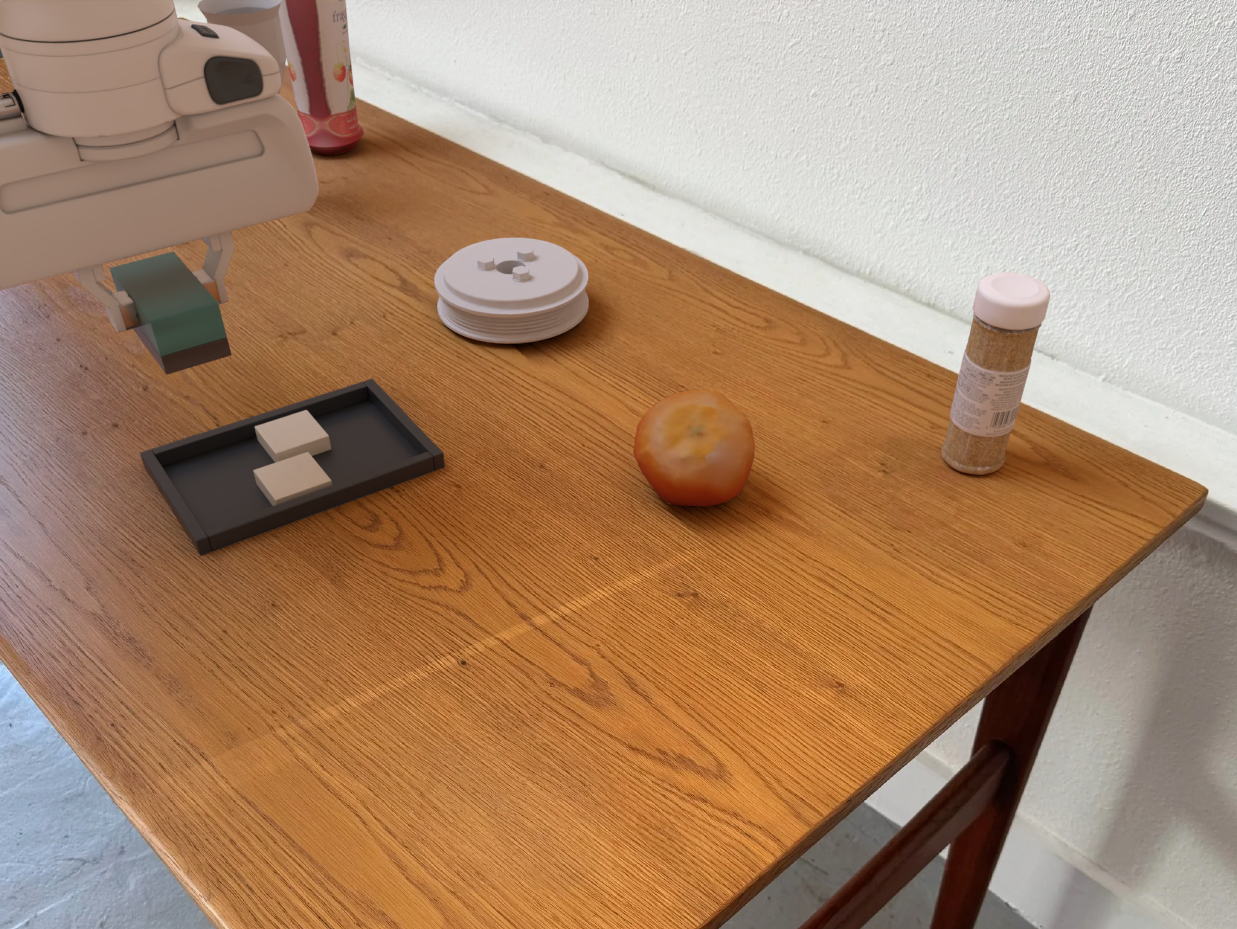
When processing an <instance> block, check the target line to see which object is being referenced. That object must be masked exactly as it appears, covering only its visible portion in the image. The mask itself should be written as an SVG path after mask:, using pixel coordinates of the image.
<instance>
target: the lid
mask: <svg viewBox="0 0 1237 929" xmlns="http://www.w3.org/2000/svg"><path fill="white" fill-rule="evenodd" d="M433 282H434V288H435V291H436V293H437V295H438V296H439V297H438V299H437V303H436V304H437V305H436V309H437V310H436V311H437V314H438V315H437V316H438V317H439V319H440V321H441V322H442V323H443V325H445V326H446V327H447V328H449V330H451V331H453V332H455V333H457V334H459V335H461V336H464V337H466V338H468V339H472V340H476V341H481V342H485V343H492V344H493V343H494V344H525V343H531V342H532V343H533V342H539V341H542V340H546V339H550V338H553V337H556V336H559V335H561V334H563V333H566V332H568V331H569V330H571V329H573V328H575V327H576V326H577V325H578V324H580V323H581V322H582V321H583V320H584V318H585V317H586V315H587V313H588V311H589V307H590V304H589V303H590V300H589V296H588V293H587V292H586V289H587V287H588V284H589V270H588V269H587V266H586V264H585V263H584V261H583V260H581V259H580V258H578V257H577V256H576V255H574V254H573V253H571V252H570V251H569V250H567V249H566V248H564V247H562V246H560V245H559V244H556V243H553V242H550V241H546V240H542V239H537V238H529V237H499V238H494V239H493V238H491V239H485V240H483V241H478V242H475V243H472V244H470V245H467V246H465V247H463V248H460V249H459V250H457V251H455V252H454V253H453V254H452V255H451V256H450V257H449V258H447V259H446V260H445V261H444V262H442V263H441V265H440V266H438V268H437V270H436V272H435V275H434V278H433Z"/></svg>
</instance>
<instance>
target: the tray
mask: <svg viewBox="0 0 1237 929" xmlns="http://www.w3.org/2000/svg"><path fill="white" fill-rule="evenodd" d="M304 410H307V411H308V412H309V413H310V414H311V415H312V417H313V418H314V419H315V420H316V421H317V422H318V424H319V425H320V426H321V427H322V428H323V430H324V431H325V432H326V433H327V434H328V435H329V439H330V444H331V450H328V451H325V452H322V453H319V454H316V455H313V456H312V457H313V458H314V460H315V461H316V462H317V463H318V465H319V466H320V467H321V468H322V470H323V471H324V472H325V473H326V474H327V476H328V477H329V478H330V479H331V481H332V486H329V487H326V488H323V489H320V490H318V491H315V492H312V493H309V494H306V495H303V496H301V497H298V498H295V499H292V500H289V501H287V502H284V503H281V504H278V505H275V506H272V504H271V503H270V502H269V500H268V499H267V498H266V496H265V495H264V493H263V492H262V491H261V489H260V488H259V487H258V485H257V484H256V480H255V476H254V472H253V470H256V469H258V468H261V467H264V466H267V465H270V464H273V463H275V462H274V461H273V459H272V458H271V457H270V455H269V454H268V453H267V452H266V450H265V449H264V448H263V446H262V445H261V444H260V442H259V441H258V439H257V435H256V431H255V426H258V425H261V424H264V423H267V422H270V421H273V420H277V419H280V418H283V417H286V416H289V415H292V414H295V413H298V412H301V411H304ZM139 455H140V458H141V461H142V464H143V467H144V469H145V471H146V472H147V474H148V476H149V477H150V478H151V480H152V482H153V483H154V485H155V486H156V488H157V490H158V491H159V493H160V495H161V496H162V498H163V499H164V501H165V502H166V504H167V505H168V507H169V509H170V510H171V512H172V513H173V515H174V517H175V518H176V520H177V522H178V523H179V524H180V526H181V528H182V529H183V531H184V532H185V534H186V536H187V537H188V539H189V541H190V542H191V543H192V545H193V547H194V548H195V550H196V551H197V553H198V555H199V556H200V557H202V556H205V555H207V554H211V553H214V552H216V551H219V550H222V549H225V548H226V547H230V546H232V545H235V544H239V543H241V542H244V541H247V540H249V539H252V538H254V537H257V536H259V535H263V534H265V533H269V532H271V531H274V530H277V529H280V528H282V527H285V526H288V525H290V524H294V523H295V522H299V521H302V520H305V519H307V518H310V517H313V516H315V515H318V514H321V513H324V512H327V511H329V510H332V509H334V508H337V507H340V506H343V505H345V504H348V503H352V502H353V501H356V500H359V499H363V498H365V497H367V496H370V495H373V494H377V493H378V492H382V491H385V490H387V489H390V488H392V487H395V486H398V485H401V484H403V483H407V482H409V481H412V480H414V479H415V480H416V479H418V478H421V477H423V476H426V475H428V474H431V473H435V472H436V471H439V470H442V469H445V468H446V464H445V456H444V452H443V451H442V450H441V449H440V448H439V447H438V445H437V444H436V443H435V442H434V441H433V440H432V439H431V438H430V437H429V436H428V435H427V434H426V433H425V432H424V431H423V430H422V429H421V428H420V427H419V426H418V424H417V423H416V422H415V421H414V420H413V419H411V417H410V416H409V415H408V414H407V413H406V412H405V411H404V410H403V409H402V407H400V406H399V405H398V404H397V403H396V402H395V401H394V400H393V398H392V397H391V396H390V395H389V394H388V393H386V391H385V390H384V389H383V388H382V386H380V385H379V384H378V383H377V382H376V381H375V380H374V379H373V378H369V379H366V380H363V381H360V382H357V383H354V384H351V385H347V386H344V387H342V388H338V389H335V390H332V391H328V392H325V393H322V394H319V395H316V396H313V397H309V398H307V399H304V400H301V401H298V402H297V401H296V402H294V403H291V404H288V405H285V406H281V407H279V408H276V409H272V410H268V411H266V412H263V413H258V414H256V415H253V416H250V417H246V418H244V419H240V420H237V421H233V422H232V423H228V424H225V425H222V426H218V427H215V428H213V429H209V430H206V431H204V432H200V433H196V434H194V435H190V436H187V437H183V438H181V439H178V440H175V441H172V442H168V443H165V444H162V445H159V446H156V447H153V448H151V449H147V450H143V451H140V453H139Z"/></svg>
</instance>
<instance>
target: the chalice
mask: <svg viewBox="0 0 1237 929" xmlns="http://www.w3.org/2000/svg"><path fill="white" fill-rule="evenodd" d="M281 1H282V0H201V1H199V2H198V3H197V6H196V7H197V9H199V11H200V12H201V14H202V15H203V17H204V18H205V20H206V23H209V24H216V25H222V26H227V27H230V28H233V29H235V30H237V31H239V32H241V33H243V34H245V35H247V36H248V37H250V38H251V39H253V40H254V41H256V42H257V43H259V44H260V45H261V46H263V47H264V48H265V49H266V50H267V51H268V52H269V53H270V54H271V55H272V56H273V57H274V59H275V60H276V61H277V63H278V66H279V69H280V75H281V88H280V90H279V92H278V94H279V95H280V93H281V89H282V85H283V81H284V77H285V71H286V63H287V59H286V52H285V47H284V41H283V35H282V30H281V24H280V19H279V13H278V12H279V8H280V4H281Z"/></svg>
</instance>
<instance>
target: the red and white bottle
mask: <svg viewBox="0 0 1237 929" xmlns="http://www.w3.org/2000/svg"><path fill="white" fill-rule="evenodd" d="M346 1H347V0H282V1H281V4H280V8H279V12H278V13H279V19H280V24H281V30H282V35H283V41H284V47H285V52H286V63H287V68H288V74H289V77H290V81H291V87H292V92H293V96H294V100H295V106H296V110H297V111H296V112H297V114H298V116H299V118H300V120H301V123H302V125H303V128H304V131H305V134H306V137H307V140H308V144H309V147H310V150H312V151H313V152H314V153H316V154H319V155H325V156H334V155H342V154H345V153H348V152H350V151H352V150H353V149H354V148H355V147H356V145H357V144H358V143H359V141H360V140H361V139H362V138H363V136H364V134H365V130H364V129H363V128H362V126H361V125H360V124H359V118H358V117H359V116H358V110H357V101H356V94H355V85H354V76H353V68H352V58H351V57H352V56H351V51H350V49H351V47H350V37H349V25H348V11H347V2H346Z"/></svg>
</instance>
